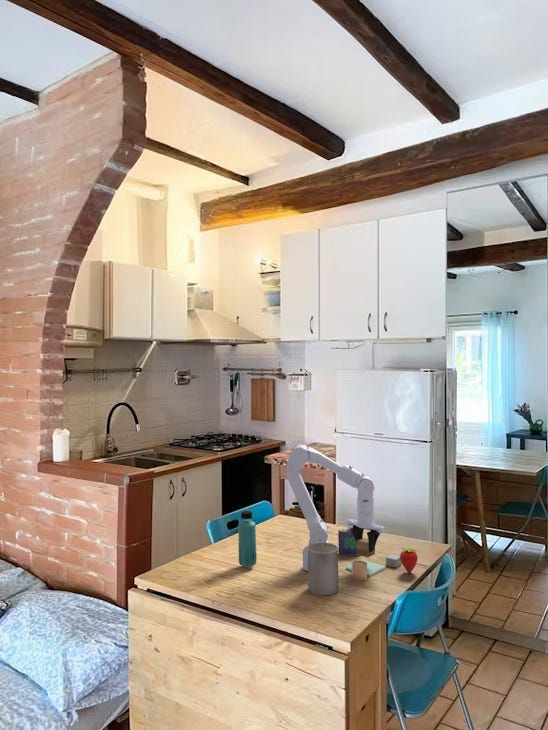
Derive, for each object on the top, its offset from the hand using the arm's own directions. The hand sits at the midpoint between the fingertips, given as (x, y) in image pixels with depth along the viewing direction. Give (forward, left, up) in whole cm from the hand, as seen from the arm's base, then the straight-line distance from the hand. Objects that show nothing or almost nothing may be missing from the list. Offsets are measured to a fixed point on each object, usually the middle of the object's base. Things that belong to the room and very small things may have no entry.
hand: (365, 549), depth 198 cm
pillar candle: (-24, 0, -7) cm, 25 cm away
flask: (+9, +13, -7) cm, 17 cm away
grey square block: (+10, -5, -7) cm, 13 cm away
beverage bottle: (-27, +32, -7) cm, 42 cm away
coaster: (0, 0, -7) cm, 7 cm away
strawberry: (+7, -13, -7) cm, 16 cm away
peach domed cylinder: (-8, -3, -7) cm, 11 cm away
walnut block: (0, 0, -2) cm, 2 cm away
